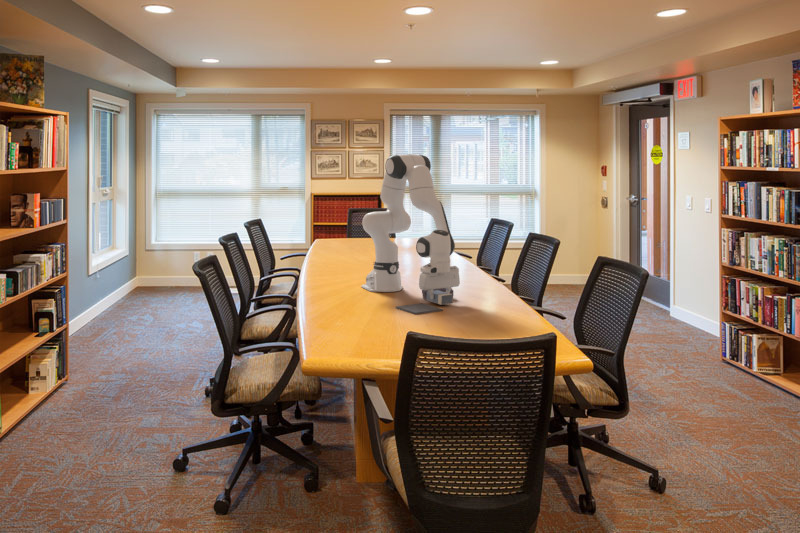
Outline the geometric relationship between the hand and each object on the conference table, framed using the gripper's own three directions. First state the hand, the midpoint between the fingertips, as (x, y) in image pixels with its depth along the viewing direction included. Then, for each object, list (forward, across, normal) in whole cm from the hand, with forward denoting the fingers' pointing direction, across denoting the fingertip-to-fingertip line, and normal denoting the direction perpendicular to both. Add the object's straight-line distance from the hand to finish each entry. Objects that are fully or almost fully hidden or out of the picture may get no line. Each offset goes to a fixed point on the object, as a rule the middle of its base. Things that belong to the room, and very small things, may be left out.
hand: (439, 298), depth 303 cm
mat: (+3, +14, +4) cm, 15 cm away
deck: (+2, 0, 0) cm, 2 cm away
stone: (+3, -7, -11) cm, 13 cm away
